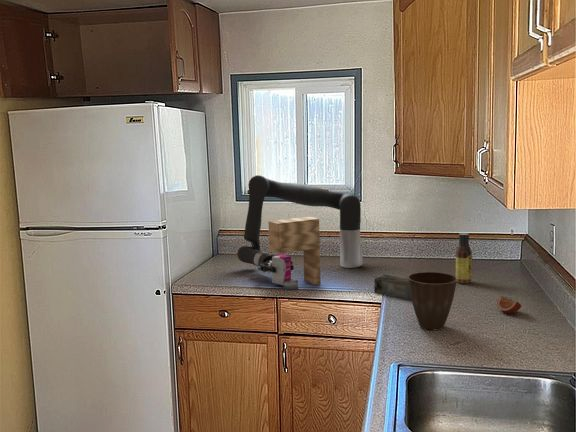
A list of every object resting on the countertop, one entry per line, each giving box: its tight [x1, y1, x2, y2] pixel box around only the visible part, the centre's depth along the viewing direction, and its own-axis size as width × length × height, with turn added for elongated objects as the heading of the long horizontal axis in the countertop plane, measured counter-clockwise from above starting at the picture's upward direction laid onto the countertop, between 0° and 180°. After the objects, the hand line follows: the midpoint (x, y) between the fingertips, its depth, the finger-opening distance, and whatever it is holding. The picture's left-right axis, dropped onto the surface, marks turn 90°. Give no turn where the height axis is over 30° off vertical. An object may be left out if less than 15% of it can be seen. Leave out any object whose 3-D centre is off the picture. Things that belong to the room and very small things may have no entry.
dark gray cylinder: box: [282, 278, 299, 291], centre depth 237 cm, size 6×6×3 cm
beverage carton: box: [373, 274, 412, 301], centre depth 224 cm, size 8×19×7 cm, turn 47°
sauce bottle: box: [455, 232, 473, 285], centre depth 237 cm, size 7×6×20 cm
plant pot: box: [407, 271, 457, 331], centre depth 187 cm, size 15×15×16 cm
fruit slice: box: [496, 295, 522, 314], centre depth 199 cm, size 8×7×5 cm
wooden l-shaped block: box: [267, 216, 321, 285], centre depth 239 cm, size 19×8×27 cm, turn 120°
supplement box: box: [271, 254, 292, 287], centre depth 241 cm, size 6×6×12 cm
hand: (284, 269), depth 239 cm, fingers closed on supplement box, 7 cm apart
